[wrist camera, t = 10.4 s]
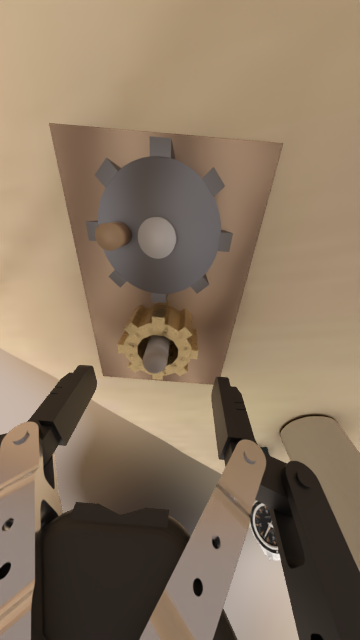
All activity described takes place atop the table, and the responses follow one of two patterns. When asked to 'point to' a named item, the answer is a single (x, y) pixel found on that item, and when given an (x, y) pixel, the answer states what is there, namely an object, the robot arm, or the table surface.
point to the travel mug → (330, 469)
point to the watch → (264, 527)
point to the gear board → (226, 266)
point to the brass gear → (162, 324)
